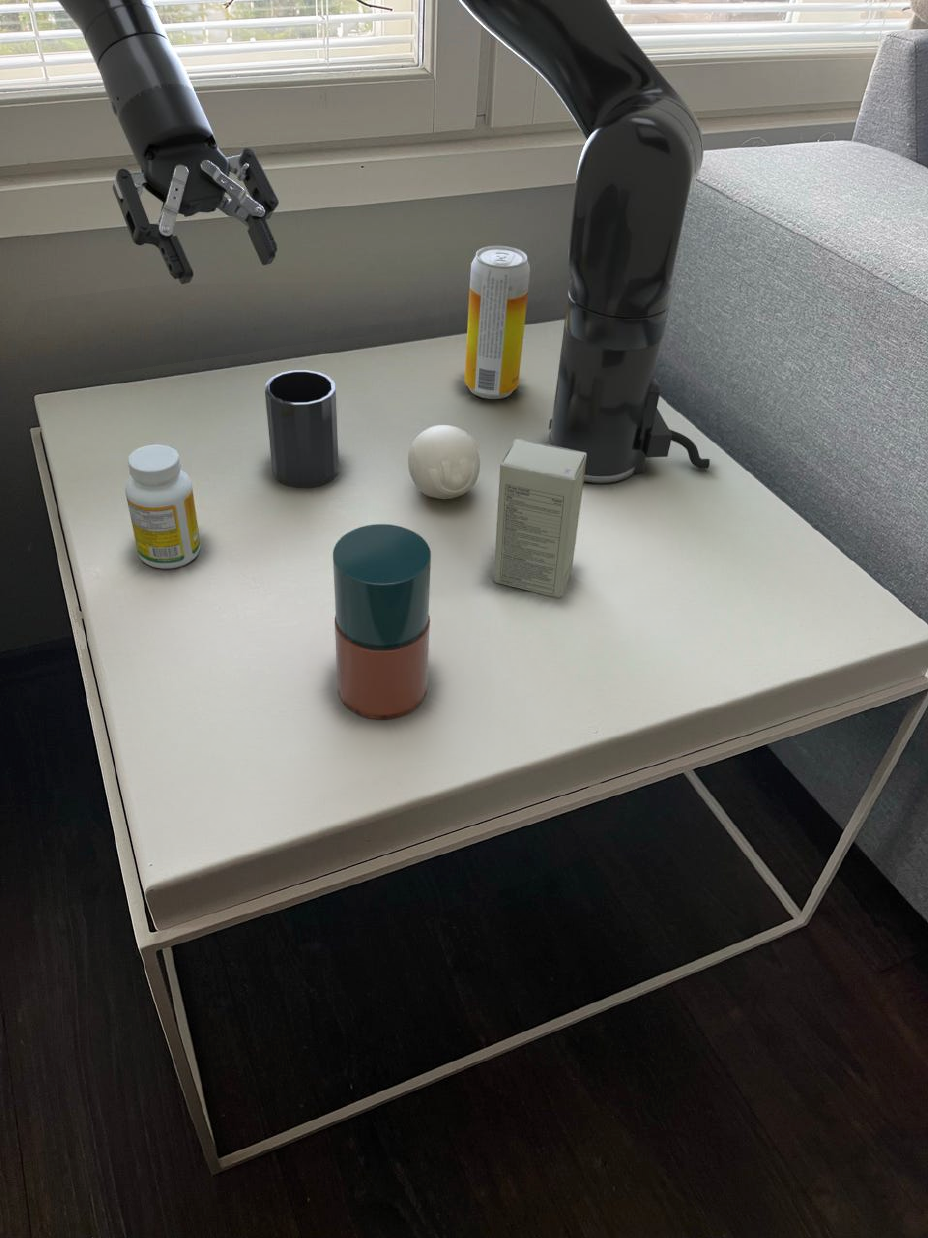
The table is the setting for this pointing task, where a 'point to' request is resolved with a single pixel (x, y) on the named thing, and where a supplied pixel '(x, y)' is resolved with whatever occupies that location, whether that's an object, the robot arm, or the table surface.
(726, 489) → the table surface
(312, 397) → the cup
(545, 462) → the cosmetic box
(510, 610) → the table surface
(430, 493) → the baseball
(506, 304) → the beer can
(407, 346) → the table surface
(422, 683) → the teal and red cylinder
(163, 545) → the supplement bottle
